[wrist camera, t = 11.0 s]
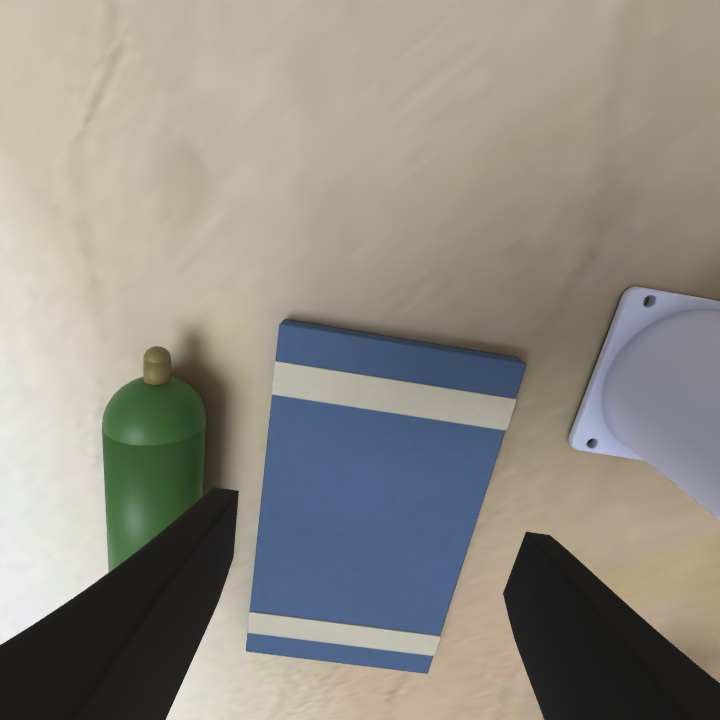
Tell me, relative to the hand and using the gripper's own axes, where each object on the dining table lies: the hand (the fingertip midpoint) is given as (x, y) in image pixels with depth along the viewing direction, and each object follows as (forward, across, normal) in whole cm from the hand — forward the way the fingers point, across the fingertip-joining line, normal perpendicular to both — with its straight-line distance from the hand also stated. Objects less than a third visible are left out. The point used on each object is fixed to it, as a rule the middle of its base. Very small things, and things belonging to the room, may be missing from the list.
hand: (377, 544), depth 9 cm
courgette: (+9, +10, +7) cm, 15 cm away
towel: (+9, -1, +7) cm, 12 cm away
